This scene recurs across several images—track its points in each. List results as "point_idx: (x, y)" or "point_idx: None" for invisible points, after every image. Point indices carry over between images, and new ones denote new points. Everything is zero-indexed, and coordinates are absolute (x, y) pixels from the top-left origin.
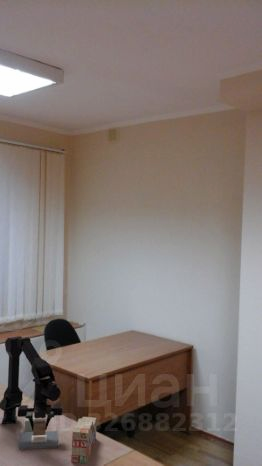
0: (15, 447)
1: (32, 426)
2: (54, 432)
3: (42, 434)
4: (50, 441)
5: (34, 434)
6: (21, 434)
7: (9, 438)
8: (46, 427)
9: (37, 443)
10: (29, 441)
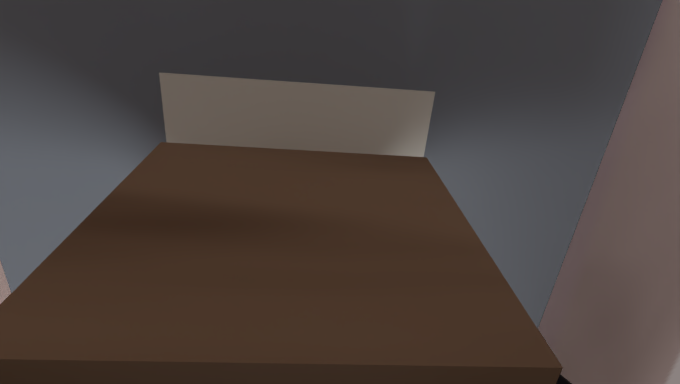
0: (671, 36)
1: None
2: None
3: (219, 152)
4: (85, 67)
5: (402, 166)
6: None
7: (652, 293)
8: None
9: (328, 30)
10: (456, 129)
